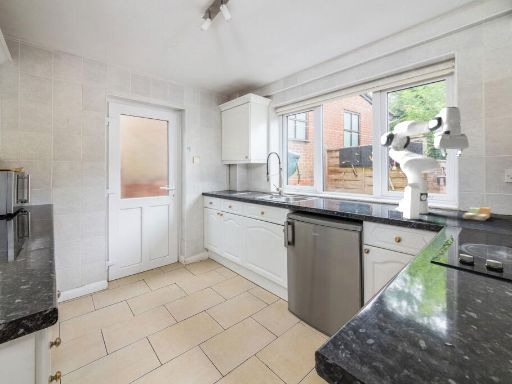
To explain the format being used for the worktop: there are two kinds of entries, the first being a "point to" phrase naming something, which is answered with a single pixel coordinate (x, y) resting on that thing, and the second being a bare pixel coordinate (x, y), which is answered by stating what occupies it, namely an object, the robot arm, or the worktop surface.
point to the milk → (411, 201)
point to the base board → (475, 216)
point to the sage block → (474, 210)
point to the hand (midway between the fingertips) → (451, 156)
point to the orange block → (484, 211)
